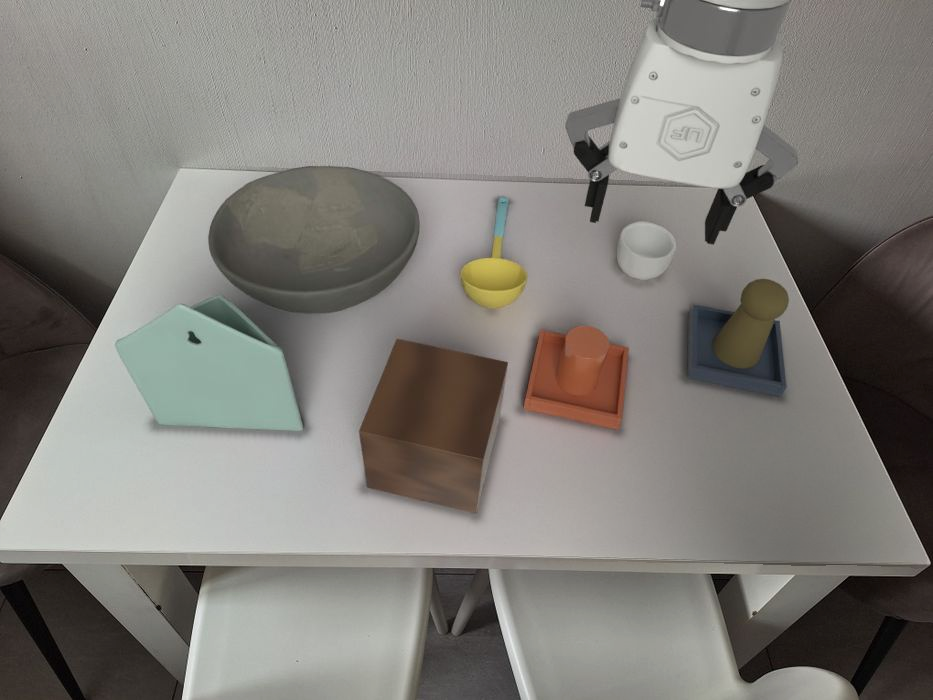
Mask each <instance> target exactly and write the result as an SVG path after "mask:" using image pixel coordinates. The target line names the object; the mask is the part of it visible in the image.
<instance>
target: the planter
mask: <svg viewBox="0 0 933 700" xmlns="http://www.w3.org/2000/svg"><path fill="white" fill-rule="evenodd" d="M114 347H115V349H116V351H117V353H118V355H119V358H120V359H121V362H122V363H123V364H124V366H125V368H126V370H127V372H128V374H129V375H130V377H131V379H132V380H133V383H134V384H135V386H136V388H137V390H138V391H139V392H140V395H141V396H142V398H143V400H144V402H145V404H146V405H147V407H148V408H149V411H150V412H151V414H152V417H153V418H154V420H155V421H156V423H157V424H159V425H161V426H162V425H165V426H182V427H183V426H185V427H204V428H205V427H206V428H223V429H225V428H227V429H243V430H244V429H245V430H246V429H249V430H268V431H288V432H289V431H291V432H302V431H304V423H303V421H302V417H301V413H300V410H299V404H298V402H297V398H296V394H295V389H294V386H293V383H292V379H291V374H290V372H289V367H288V364H287V360H286V357H285V354H284V350H283V349H282V348H281V347H280V345H278V344H277V343H276V342H275V341H274V340H272V339H271V337H269V336H268V335H267V334H266V333H265V332H264V331H263V330H262V329H261V328H260V327H259V326H258V325H257V324H255V323H254V322H253V320H252V319H250V318H249V317H248V315H246V314H245V313H244V312H243V311H242V310H241V309H240V308H239V307H238V306H237V305H235V304H234V303H233V302H232V301H230V300H229V299H228V298H226V297H225V296H224V295H222V294H217V295H214V296H212V297H210V298H207V299H205V300H203V301H200V302H198V303H196V304H193V305H191V306H189V305H187V304H184V303H177V304H176V305H174V306H172V307H171V308H169V309H168V310H167V311H165V312H164V313H162V314H161V315H159V316H157V317H156V318H154V319H153V320H151V321H149V322H147V323H146V324H144V325H142V326H141V327H139V328H138V329H136V330H134V331H133V332H131V333H129V334H128V335H126V336H123V337H121V338H119V339H117V340H116V341H115V343H114Z"/></svg>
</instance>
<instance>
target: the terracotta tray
mask: <svg viewBox="0 0 933 700" xmlns="http://www.w3.org/2000/svg"><path fill="white" fill-rule="evenodd" d="M566 335H567V334H565V333H560V332H555V331H550V330H544V329H540V330H539V336H538V339H537V344H536V348H535V353H534V357H533V362H532V367H531V371H530V376H529V380H528V385H527V388H526V392H525V398H524V403H523V407H522V408H523V410H525V411H529V412H535V413H539V414H544V415H548V416H554V417H558V418H562V419H566V420H572V421H576V422H580V423H585V424H590V425H594V426H598V427H604V428H607V429H613V430H619V428H620V425H621V423H622V420H623V412H624V402H625V394H626V393H625V392H626V381H627V374H628V373H627V370H628V361H629V353H630V352H629V351H630V347H629V346H623V345H618V344H614V343H609V350H608V353H607V356H606V359H605V362H604V365H603V368H602V371H601V374H600V377H599V380H598V383H597V386H596V388H595V390H594V391H593V392H591V393H590V394H587V395H583V396H576V395H572V394H569V393H567V392H565V391H564V390H563V389H562V388H561V387H560V386H559V384H558V382H557V379H556V376H557V371H558V367H559V363H560V359H561V355H562V351H563V347H564V343H565V339H566Z"/></svg>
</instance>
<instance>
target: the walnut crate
mask: <svg viewBox="0 0 933 700" xmlns="http://www.w3.org/2000/svg"><path fill="white" fill-rule="evenodd" d="M508 366H509V362H508V361H504V360H501V359H496V358H491V357H486V356H481V355H476V354H471V353H468V352H462V351H457V350H453V349H448V348H444V347H439V346H434V345H429V344H425V343H420V342H415V341H410V340H405V339H401V338H396V340H395V341H394V344H393V347H392V349H391V352H390V354H389V356H388V359H387V361H386V363H385V366H384V368H383V372H382V373H381V376H380V379H379V381H378V383H377V386H376V388H375V391H374V393H373V395H372V398H371V401H370V403H369V405H368V407H367V411H366V412H365V414H364V415H365V416H364V418H363V420H362V423H361V425H360V427H359V430H358V434H359V440H360V447H361V455H362V462H363V469H364V477H365V483H366V487H367V489H372V490H377V491H380V492H383V493H384V492H385V493H389V494H393V495H397V496H400V497H401V496H402V497H404V498H410V499H414V500H418V501H422V502H426V503H431V504H434V505H439V506H443V507H447V508H452V509H455V510H460V511H463V512H468V513H472V514H477V513H478V510H479V506H480V502H481V501H480V500H481V497H482V493H483V489H484V485H485V480H486V478H487V473H488V468H489V465H490V461H491V456H492V452H493V448H494V444H495V440H496V435H497V433H498V428H499V424H500V418H501V412H502V405H503V398H504V393H505V384H506V378H507V374H508V373H507V372H508Z"/></svg>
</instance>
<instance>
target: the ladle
mask: <svg viewBox="0 0 933 700" xmlns="http://www.w3.org/2000/svg"><path fill="white" fill-rule="evenodd" d="M509 201H510V199H509V198H508V197H505V196H501V197H499V198H498V202H497V208H496V214H495V223H494V230H493V242H492V250H491V257H482V258H477V259H473V260H472V261H469V262H467V263H466V264H465V265H463V266H462V268H461V270H460V274H459V275H460V281H461V287H462V288H463V290H464V292H465V294H466V295H467V296H468V298H469V299H471V300H472V301H473V302H475V304H477V305H479V306H481V307H484V308H489V309H500V308H503V307H504V308H505V307H506V306H508V305H510V304H512V303H514V302H515V301H516V300H517V299H518V298H519V297H520V296H521V294H523V292H524V289H525V288H526V284H527V280H528V273H527V271H526V269H524V267H523V266H522V265H520V264H518V263H516V262H515V261H511V260H509V259H505V258H501V253H502V245H503V239H504V234H505V227H506V220H507V215H508V208H509Z"/></svg>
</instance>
